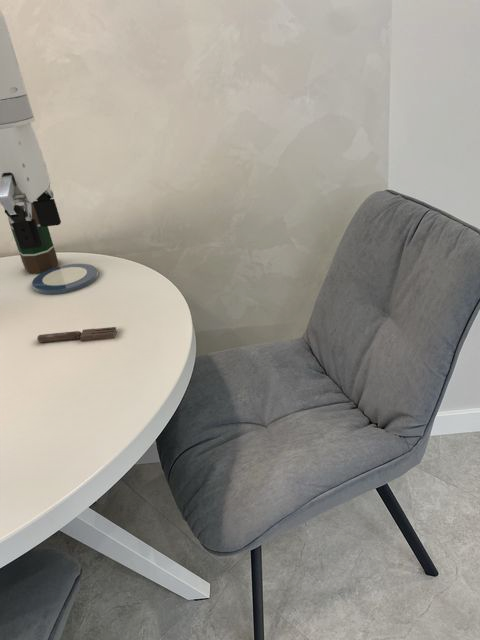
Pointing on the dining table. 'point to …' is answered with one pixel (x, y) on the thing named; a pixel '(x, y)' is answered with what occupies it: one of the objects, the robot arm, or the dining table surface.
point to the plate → (65, 279)
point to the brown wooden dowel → (80, 335)
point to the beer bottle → (38, 250)
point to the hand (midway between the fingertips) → (42, 235)
